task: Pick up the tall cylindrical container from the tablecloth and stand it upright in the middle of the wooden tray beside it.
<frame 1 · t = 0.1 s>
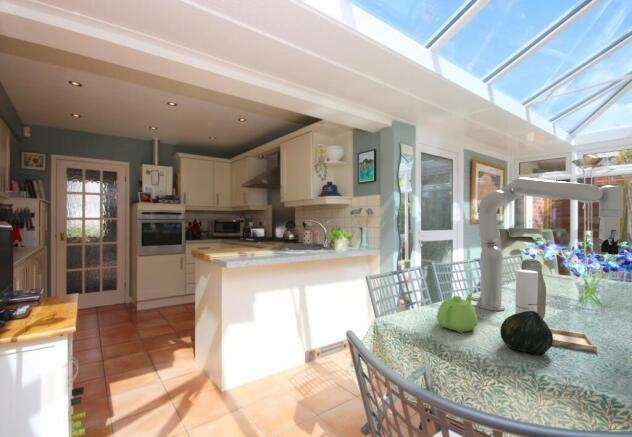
hand: (609, 253, 135), 31 cm above the table, tool pointing down, fingers open, 9 cm apart
squash: (525, 350, 109), on the table
wooden tray: (567, 341, 116), on the table
cylindrical container: (525, 333, 124), on the table
glass bottle: (530, 322, 138), on the table
teapot: (458, 327, 130), on the table
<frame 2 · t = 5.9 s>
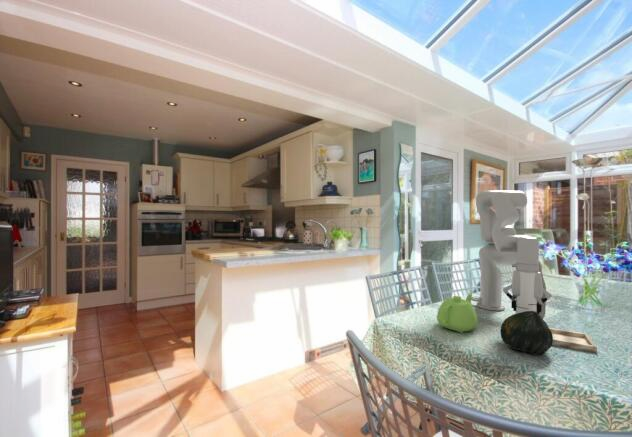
hand: (526, 311, 124), 9 cm above the table, tool pointing down, fingers closed on cylindrical container, 7 cm apart
cylindrical container: (525, 333, 124), on the table, touching gripper
everything else where it was.
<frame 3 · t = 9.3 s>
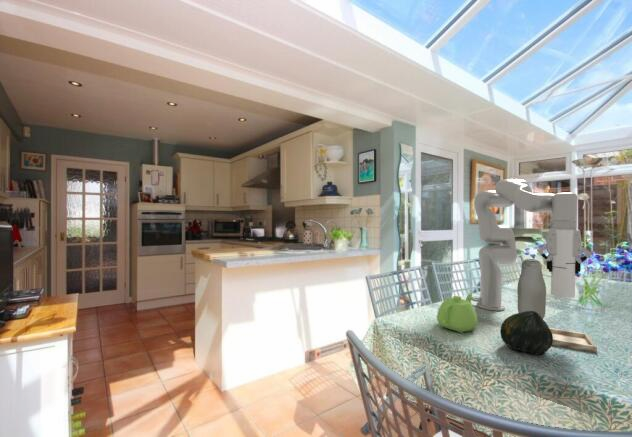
hand: (563, 272, 117), 26 cm above the table, tool pointing down, fingers closed on cylindrical container, 7 cm apart
cylindrical container: (562, 295, 117), point 17 cm above the table, touching gripper
everything else where it was.
when the fingers open (11 cm above the table, at t = 12.8 s): cylindrical container drops 2 cm, resting on wooden tray.
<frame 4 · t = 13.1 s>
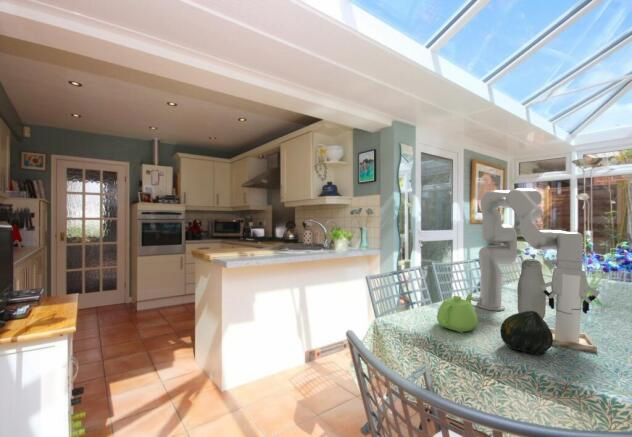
hand: (568, 310, 116), 12 cm above the table, tool pointing down, fingers open, 9 cm apart
cylindrical container: (566, 339, 116), resting on wooden tray
everything else where it was.
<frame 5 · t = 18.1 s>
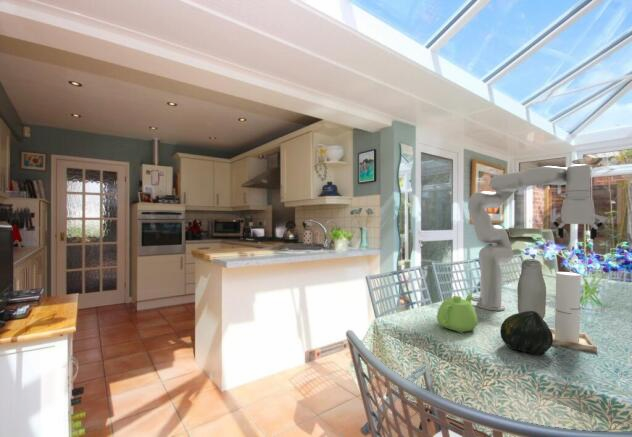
hand: (576, 238, 124), 38 cm above the table, tool pointing down, fingers open, 9 cm apart
nothing on the table moved.
at the end: cylindrical container 0.2 cm off-centre on the wooden tray, point 0.4 cm above the wooden tray's base; cylindrical container tilted 0°; the gripper is holding nothing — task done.
